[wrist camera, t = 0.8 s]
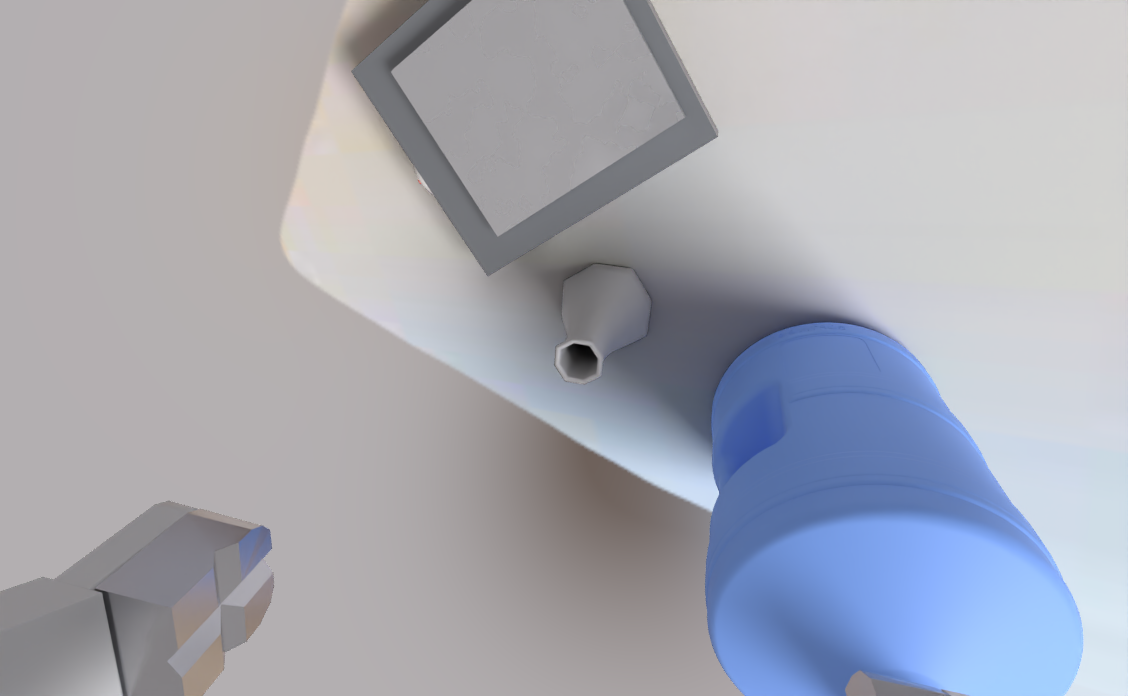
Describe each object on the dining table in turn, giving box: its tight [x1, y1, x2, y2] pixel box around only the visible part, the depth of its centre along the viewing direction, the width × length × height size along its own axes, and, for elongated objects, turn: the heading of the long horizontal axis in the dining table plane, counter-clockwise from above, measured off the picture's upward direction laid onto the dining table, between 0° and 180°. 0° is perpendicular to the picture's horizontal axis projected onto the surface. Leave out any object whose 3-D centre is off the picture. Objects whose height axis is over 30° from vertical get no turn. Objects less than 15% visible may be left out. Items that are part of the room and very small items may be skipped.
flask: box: [554, 263, 652, 385], centre depth 41 cm, size 7×7×10 cm
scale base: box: [351, 0, 718, 276], centre depth 39 cm, size 19×16×4 cm
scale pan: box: [391, 0, 686, 237], centre depth 36 cm, size 14×12×1 cm
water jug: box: [705, 322, 1083, 696], centre depth 33 cm, size 16×16×28 cm
